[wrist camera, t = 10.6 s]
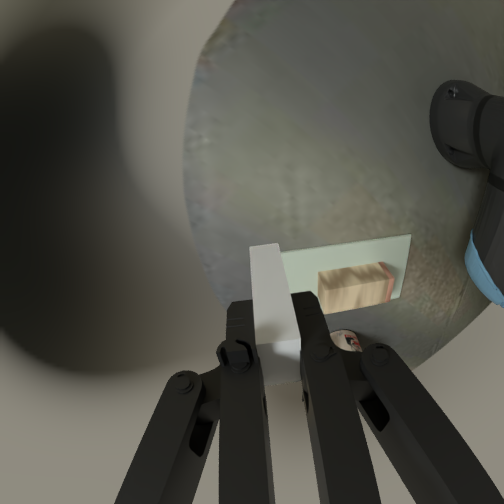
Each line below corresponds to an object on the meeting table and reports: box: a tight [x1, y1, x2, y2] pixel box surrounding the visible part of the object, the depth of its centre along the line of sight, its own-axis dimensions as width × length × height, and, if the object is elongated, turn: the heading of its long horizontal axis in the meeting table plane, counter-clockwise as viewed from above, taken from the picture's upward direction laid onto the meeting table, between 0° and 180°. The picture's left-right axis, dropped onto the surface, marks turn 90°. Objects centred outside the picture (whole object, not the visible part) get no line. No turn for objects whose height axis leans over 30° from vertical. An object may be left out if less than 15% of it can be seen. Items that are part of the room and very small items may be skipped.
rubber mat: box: [280, 234, 411, 312], centre depth 46 cm, size 26×14×1 cm, turn 98°
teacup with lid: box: [330, 330, 362, 352], centre depth 49 cm, size 12×9×12 cm
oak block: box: [318, 261, 395, 314], centre depth 44 cm, size 5×5×12 cm
